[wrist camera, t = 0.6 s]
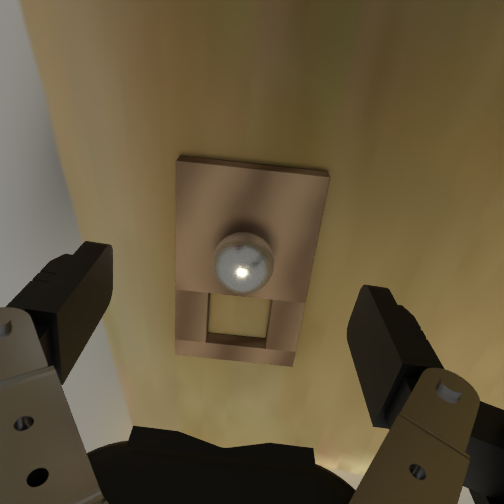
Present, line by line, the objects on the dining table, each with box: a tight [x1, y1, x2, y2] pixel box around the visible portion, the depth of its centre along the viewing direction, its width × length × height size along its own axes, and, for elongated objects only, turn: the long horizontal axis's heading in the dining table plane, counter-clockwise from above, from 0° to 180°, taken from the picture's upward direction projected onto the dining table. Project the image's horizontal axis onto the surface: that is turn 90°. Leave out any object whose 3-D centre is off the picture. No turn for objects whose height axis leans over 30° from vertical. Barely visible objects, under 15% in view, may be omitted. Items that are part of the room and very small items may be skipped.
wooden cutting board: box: [175, 156, 330, 367], centre depth 36 cm, size 12×20×2 cm, turn 174°
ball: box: [212, 232, 274, 294], centre depth 31 cm, size 5×5×5 cm
